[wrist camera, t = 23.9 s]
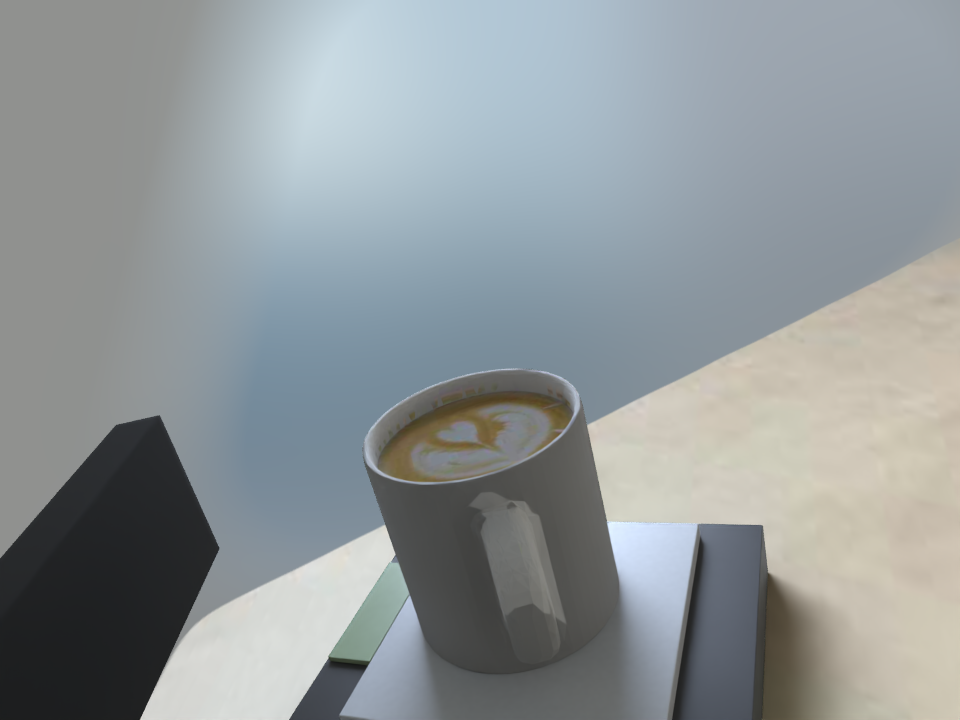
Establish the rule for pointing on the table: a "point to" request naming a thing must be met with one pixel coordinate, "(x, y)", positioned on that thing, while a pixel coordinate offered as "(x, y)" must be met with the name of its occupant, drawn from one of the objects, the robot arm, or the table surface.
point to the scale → (596, 666)
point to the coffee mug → (496, 518)
